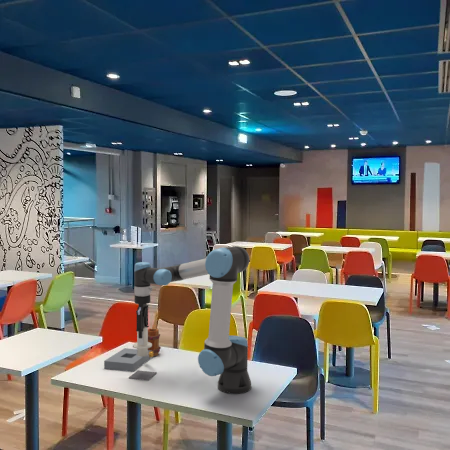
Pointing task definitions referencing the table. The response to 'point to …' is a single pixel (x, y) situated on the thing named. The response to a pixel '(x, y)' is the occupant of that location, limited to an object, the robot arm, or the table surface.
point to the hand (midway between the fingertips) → (142, 342)
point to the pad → (142, 375)
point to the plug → (143, 349)
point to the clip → (150, 354)
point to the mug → (154, 340)
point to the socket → (125, 360)
